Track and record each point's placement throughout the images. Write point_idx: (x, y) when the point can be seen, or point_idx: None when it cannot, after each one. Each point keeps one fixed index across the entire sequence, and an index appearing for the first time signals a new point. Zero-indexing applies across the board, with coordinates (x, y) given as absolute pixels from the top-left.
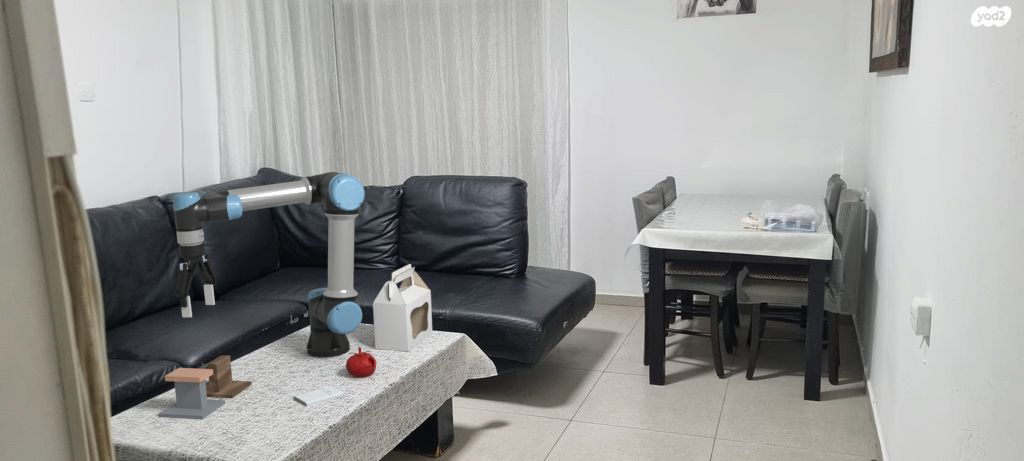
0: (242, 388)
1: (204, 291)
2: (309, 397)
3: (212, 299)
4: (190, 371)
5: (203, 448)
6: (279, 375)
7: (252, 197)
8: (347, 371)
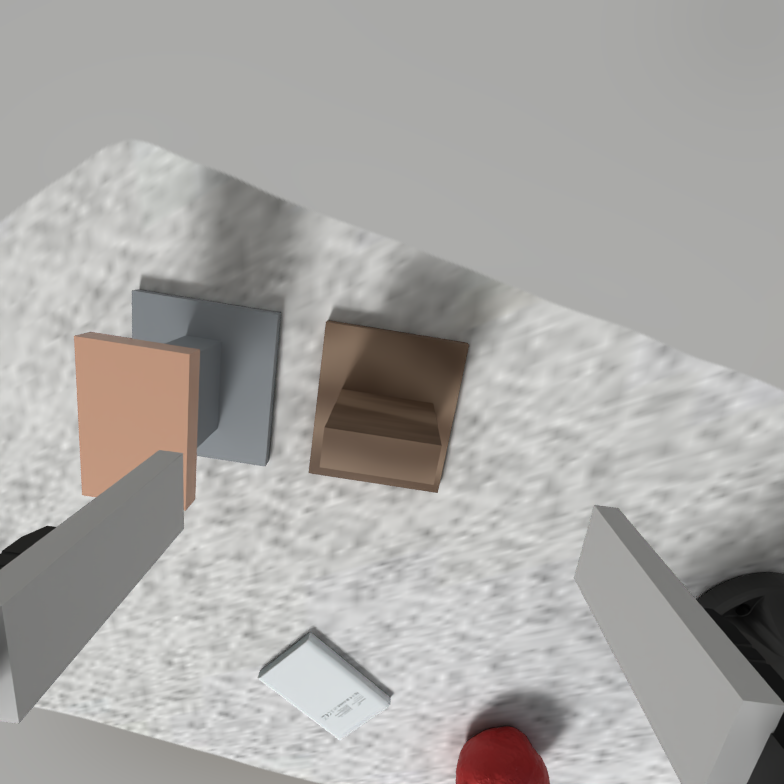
0: (376, 482)
1: (675, 611)
2: (297, 678)
3: (598, 612)
4: (148, 428)
5: None
6: (516, 546)
7: None
8: (486, 735)
